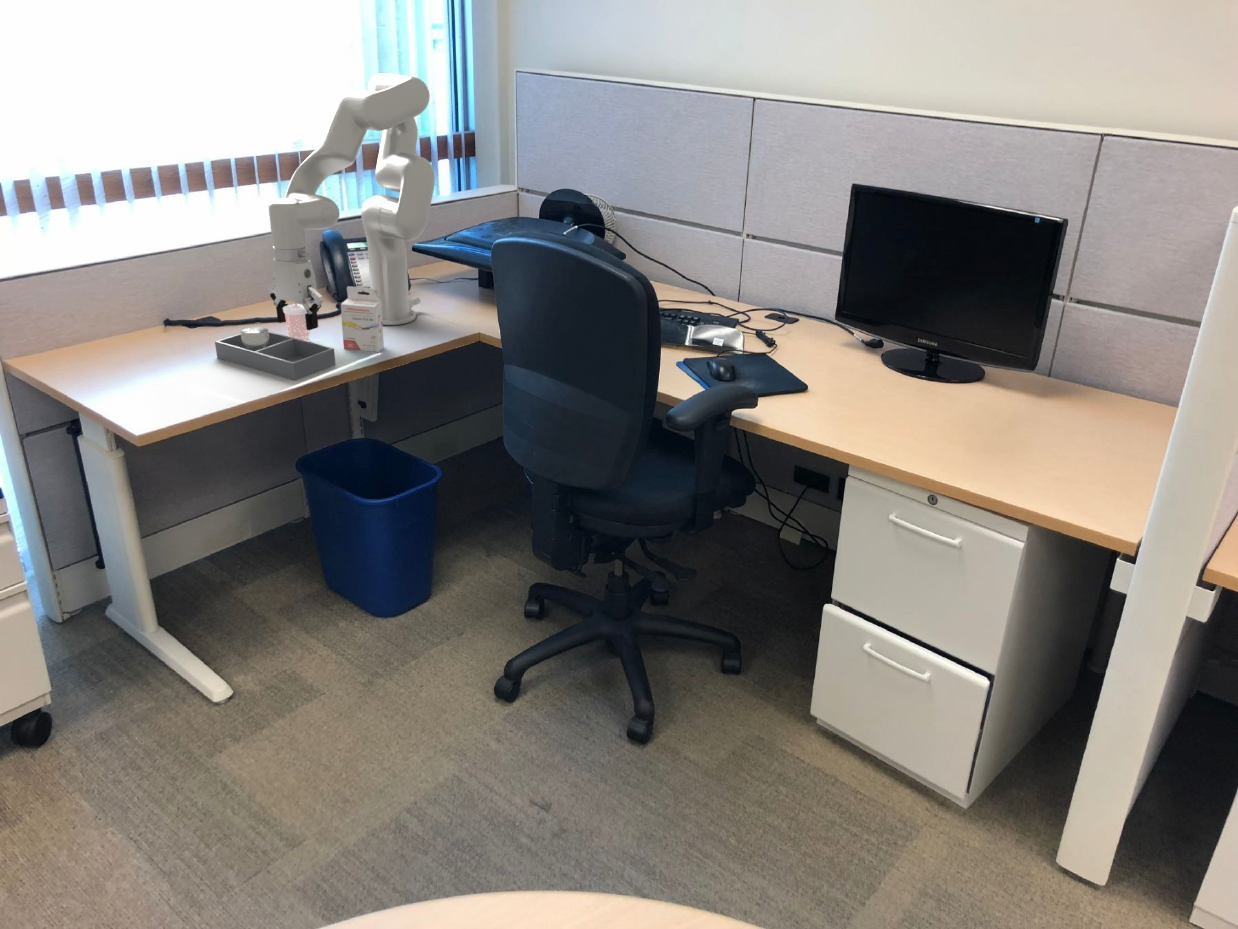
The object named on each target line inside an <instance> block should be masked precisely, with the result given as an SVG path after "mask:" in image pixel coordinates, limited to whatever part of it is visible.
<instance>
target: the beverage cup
mask: <svg viewBox="0 0 1238 929" xmlns="http://www.w3.org/2000/svg"><path fill="white" fill-rule="evenodd" d="M283 312H284V313H285V318H286V321H285V322H286V328H287V336H289V337H292V338H296V339H300V340H304V341H307V342H311V340H310V339H311V336H310V333H311V332H310V331H311V330H307V328H306V318H305V314H307V312H306V310H305V309H304V307H303V305H301V304H296V303H291V304H288V305H287V306H285V307H283Z"/></svg>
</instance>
